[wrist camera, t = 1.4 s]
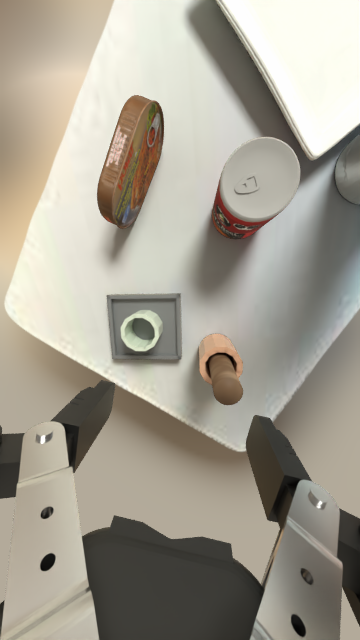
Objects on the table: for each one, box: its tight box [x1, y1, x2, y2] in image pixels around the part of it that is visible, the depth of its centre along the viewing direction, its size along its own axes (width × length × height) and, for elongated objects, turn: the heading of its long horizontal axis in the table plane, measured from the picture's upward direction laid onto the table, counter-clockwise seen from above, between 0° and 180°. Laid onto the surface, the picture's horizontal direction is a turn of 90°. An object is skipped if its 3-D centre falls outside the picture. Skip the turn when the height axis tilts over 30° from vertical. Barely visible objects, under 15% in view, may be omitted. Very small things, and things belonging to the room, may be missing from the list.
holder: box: [121, 310, 163, 351], centre depth 33 cm, size 6×6×4 cm
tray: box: [107, 293, 182, 359], centre depth 35 cm, size 12×11×2 cm
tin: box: [97, 95, 164, 229], centre depth 27 cm, size 15×3×8 cm, turn 155°
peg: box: [208, 352, 243, 405], centre depth 29 cm, size 3×3×13 cm
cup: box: [199, 334, 243, 385], centre depth 32 cm, size 6×6×7 cm
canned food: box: [212, 137, 300, 239], centre depth 26 cm, size 8×8×11 cm
